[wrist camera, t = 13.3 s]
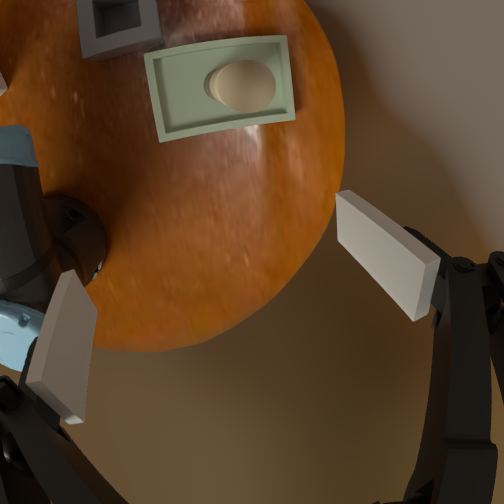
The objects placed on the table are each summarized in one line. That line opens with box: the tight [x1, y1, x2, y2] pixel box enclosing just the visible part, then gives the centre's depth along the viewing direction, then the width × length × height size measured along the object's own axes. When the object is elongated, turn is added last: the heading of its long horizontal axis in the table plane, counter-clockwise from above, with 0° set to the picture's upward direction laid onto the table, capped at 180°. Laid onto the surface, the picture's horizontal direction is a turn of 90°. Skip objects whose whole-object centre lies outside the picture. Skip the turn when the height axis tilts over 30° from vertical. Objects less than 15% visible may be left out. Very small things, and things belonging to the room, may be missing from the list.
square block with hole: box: [76, 0, 163, 62], centre depth 27 cm, size 9×9×7 cm
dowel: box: [203, 60, 276, 113], centre depth 29 cm, size 4×4×17 cm
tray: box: [144, 35, 295, 143], centre depth 36 cm, size 18×12×3 cm, turn 97°
